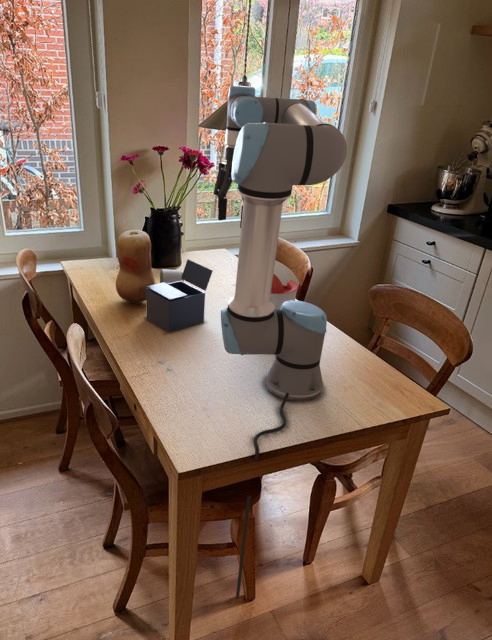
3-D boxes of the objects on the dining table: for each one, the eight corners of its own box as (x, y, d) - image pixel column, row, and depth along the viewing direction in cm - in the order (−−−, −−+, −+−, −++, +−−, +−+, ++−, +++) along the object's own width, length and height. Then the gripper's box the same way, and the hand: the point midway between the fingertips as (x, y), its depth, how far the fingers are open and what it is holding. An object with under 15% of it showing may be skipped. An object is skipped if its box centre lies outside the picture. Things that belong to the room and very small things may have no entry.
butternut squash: (110, 306, 183) (107, 234, 171) (123, 292, 195) (121, 224, 182) (149, 311, 182) (149, 239, 169) (160, 297, 193) (160, 228, 180)
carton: (180, 309, 185) (181, 278, 179) (203, 322, 176) (205, 290, 171) (146, 318, 177) (146, 286, 171) (169, 332, 168) (169, 299, 163)
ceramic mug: (184, 292, 199) (184, 272, 195) (162, 293, 196) (162, 273, 193) (178, 282, 207) (178, 263, 204) (157, 283, 205) (157, 264, 202)
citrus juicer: (301, 330, 176) (310, 271, 166) (276, 348, 163) (284, 287, 153) (260, 317, 183) (266, 260, 173) (233, 334, 170) (238, 274, 160)
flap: (180, 278, 179) (181, 278, 179) (204, 290, 171) (205, 290, 171) (187, 259, 177) (188, 259, 178) (212, 270, 169) (212, 270, 169)
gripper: (274, 151, 149) (266, 230, 160) (223, 140, 164) (218, 214, 175) (255, 152, 145) (248, 234, 156) (204, 141, 159) (201, 216, 171)
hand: (232, 223), depth 166 cm, fingers open, 10 cm apart
